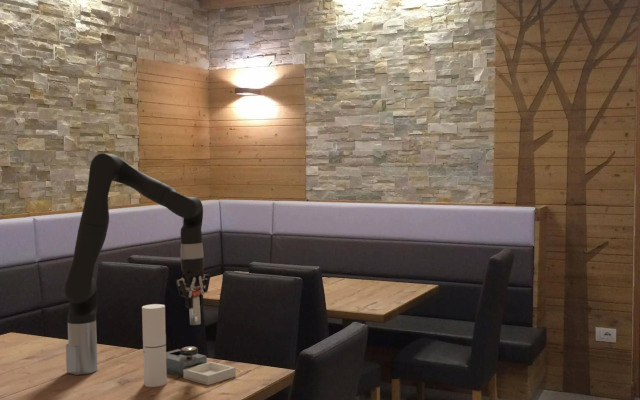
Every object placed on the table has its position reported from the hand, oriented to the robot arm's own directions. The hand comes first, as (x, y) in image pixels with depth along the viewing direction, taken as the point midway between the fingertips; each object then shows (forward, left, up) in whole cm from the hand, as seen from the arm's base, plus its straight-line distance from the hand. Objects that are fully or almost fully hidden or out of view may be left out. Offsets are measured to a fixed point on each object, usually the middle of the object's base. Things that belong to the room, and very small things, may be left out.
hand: (194, 306), depth 247 cm
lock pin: (0, 0, -6) cm, 6 cm away
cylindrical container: (-17, 0, -22) cm, 28 cm away
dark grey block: (-2, +6, -22) cm, 23 cm away
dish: (-2, -8, -22) cm, 24 cm away
